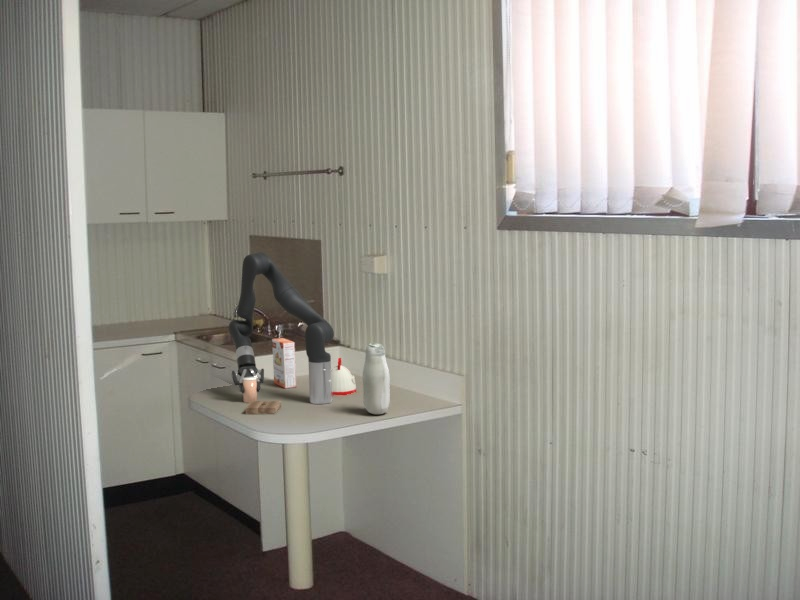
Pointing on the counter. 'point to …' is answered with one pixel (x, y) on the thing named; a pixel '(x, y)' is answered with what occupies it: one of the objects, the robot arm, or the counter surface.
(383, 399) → the glass bottle
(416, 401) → the counter surface
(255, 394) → the terracotta canister
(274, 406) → the walnut board
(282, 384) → the cracker box
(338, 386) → the kitchen timer
